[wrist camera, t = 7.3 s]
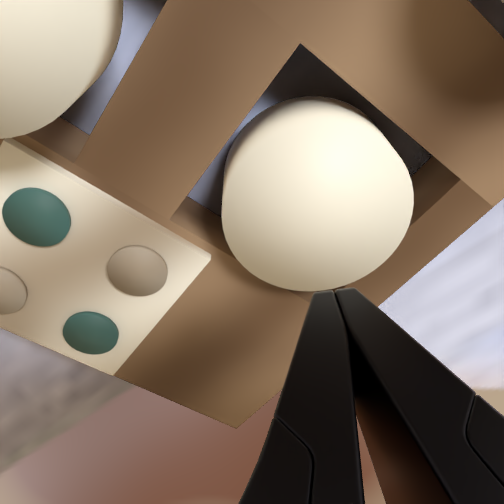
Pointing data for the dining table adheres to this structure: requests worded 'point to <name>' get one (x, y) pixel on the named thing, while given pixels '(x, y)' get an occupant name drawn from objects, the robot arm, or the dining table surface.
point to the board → (208, 223)
